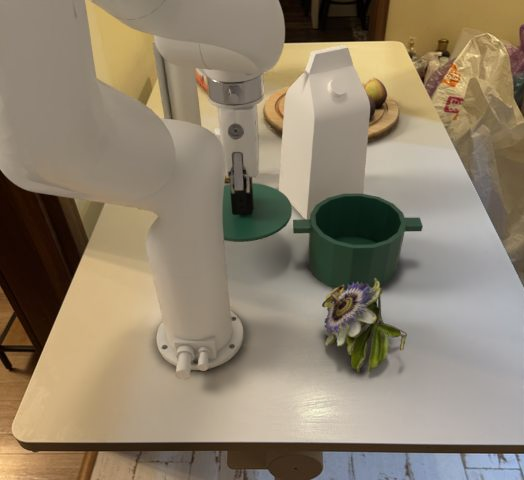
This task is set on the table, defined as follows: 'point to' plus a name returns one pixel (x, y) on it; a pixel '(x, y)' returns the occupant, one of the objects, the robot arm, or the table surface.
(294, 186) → the milk
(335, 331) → the passion flower
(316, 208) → the pot
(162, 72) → the paper towel roll
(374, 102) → the wooden plate
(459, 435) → the table surface
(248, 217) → the lid
